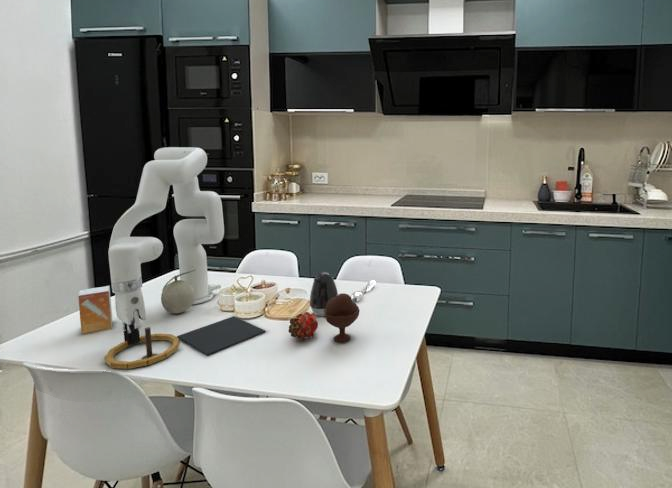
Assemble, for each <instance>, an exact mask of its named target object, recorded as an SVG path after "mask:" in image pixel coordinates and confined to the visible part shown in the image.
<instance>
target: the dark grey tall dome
mask: <svg viewBox="0 0 672 488" xmlns="http://www.w3.org/2000/svg"><path fill="white" fill-rule="evenodd" d="M338 295H339V292H338V288H337V285H336V282H335V280H334V278H333V275H331V273H329V272H328V271H320V272H318V273H317V275H316V276H315V278H314V279H313V282H312V286H311V290H310V294H309V307H310V308H311V311H312V312H313V314H314V315H317V316H319V317H325V313H324V310H325V309H326V305H327V303H328V301H329V300H330V299H332V298H333V297H336V296H338Z"/></svg>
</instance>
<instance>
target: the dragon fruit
mask: <svg viewBox="0 0 672 488" xmlns="http://www.w3.org/2000/svg"><path fill="white" fill-rule="evenodd" d="M318 327H319V322H318V320H317V318H316V314H314V313H310V312H309V311H305V312H304V313H299V314H297V315H296V316H295V317H294V318H291V319H289V326H288V330H287V331H288V333H289V334H290V337H291V338H297V341H304V340H305V339H306V338H308V339H312V338H314V336H315V334H314V333H315V332H316V330H317V329H318Z"/></svg>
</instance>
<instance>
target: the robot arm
mask: <svg viewBox="0 0 672 488" xmlns="http://www.w3.org/2000/svg"><path fill="white" fill-rule="evenodd" d="M153 158H154V160H150V161H147V162H146V163H145V164H144V166H143V168H142V172H141V177H140V181H139V186H138V189H137V194H136V199H135V202H134V204H133V205H131V207H129V208H128V209H127V210H126V211H125V212H124V213H123V214H122V215H121V216H120V217H119V218H118V219H117V221H116V223H115V224H114V226H113V229H112V233H111V236H110V240H109V245H108V246H109V248H108V252H107V253H108V254H107V255H108V264H109V273H110V283H111V291H112V293H113V294H114V301H115V302H114V304H115V313H116V317H117V319H118V320H119V321H121V322H122V329H123V340H124V342H125V341H127V344H128V345H129V346H128V347H131V346H134V345H137V344H139V342H140V337H141V334H140V328H142V325H141V321H144V322H145V321H146V320H147V313H146V306H145V300H144V295H143V291H142V288H143V279H142V277H143V276H142V267H141V265H142V264H143V263H148V262H151V261H154V260H156V259H158V258H159V257H160V256H161V255H162V253H163V250H164V244H163V242H162V241H161V240H160V239H159V238H157V237H154V236H131V234H132V232H133V230H134V228H135V227H136V226H137V225H138V224H139V223H140V222H142V221H143V220H145V219H147V218H150V217H152V216H153V215H156V214H159V213H161V212H162V211H164V210H165V209H166V206H167V200H168V197H169V192H170V187H171V186H172V189H173V198H174V199H173V200H174V206H175V211H176V213H177V214H178V215H180V216H182V217H204V218H185V219H181V220H179V221H178V222H176V223H175V225H174V226H173V237H174V240H175V244H176V249H177V257H178V269H179V270H178V273H179V274H182V273H186V272H189V271H193V270H195V271H193V272H190V273H187V274H184V275H181V276H179V280H183V281H187V282H188V283H189V284H191V286H192V287H193V289H194V294H195V296H194V301H193V304H192V305H198V304H199V305H200V304H203V303H206V302H208V301H210V300H212V299H213V298H214V291H216V290H219V289H222V286H221V283H216V284H214V283H212V284H209V275H208V274H209V273H208V259H207V258H208V257H207V252H206V250H205V248H204V247H203V245H215V244H219V243H221V242H222V241H223V239H224V236H225V224H224V222H225V221H224V213H223V212H224V211H223V203H222V199H221V197H220V194H218V193H217V192H215V191H212V190H200V185H199V178H198V175H200V174H201V173H202V172H203V171H204V169H206V166H207V164H208V154H207V153H206V151H205V150H204V149H202V148H200V147H196V146H195V147H194V146H192V147H191V146H188V147H185V146H184V147H183V146H181V147H180V146H179V147H178V146H168V147H167V146H166V147H160V148H157V150H155V152H154V154H153ZM192 305H191V306H192ZM136 343H137V344H136ZM140 343H141V342H140ZM133 344H134V345H133ZM130 345H131V346H130Z"/></svg>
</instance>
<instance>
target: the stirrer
mask: <svg viewBox="0 0 672 488" xmlns="http://www.w3.org/2000/svg"><path fill="white" fill-rule="evenodd" d="M376 283H377V282H376V281H375V280H370V281H368V282H367V284H366V286H365V289H364V290H362V291H360V290H357V291H354V292H353V293H351V295H350V297H351V298H352V302H354V303H357V302H359V301H360V300H361V299H362V298H363V296H364V293H367V292H370V291H371V290H372V289H373V288H374V287H375V286H376Z"/></svg>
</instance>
